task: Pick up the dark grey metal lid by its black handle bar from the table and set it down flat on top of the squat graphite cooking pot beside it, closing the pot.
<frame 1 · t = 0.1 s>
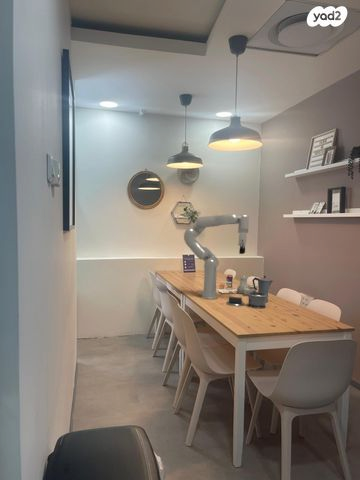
hand: (242, 253, 264), 37 cm above the table, tool pointing down, fingers open, 9 cm apart
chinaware: (246, 293, 296), on the table
moka pot: (261, 301, 266), on the table
pot: (256, 306, 249), on the table
lid: (235, 304, 253), on the table
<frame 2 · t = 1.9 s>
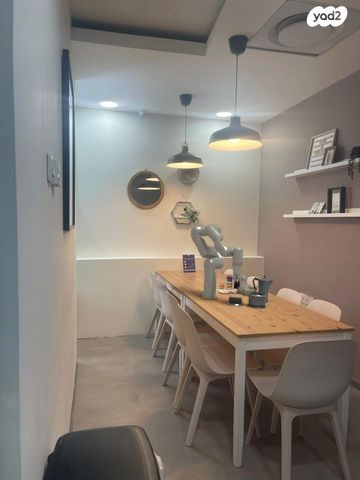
hand: (236, 287, 252), 12 cm above the table, tool pointing down, fingers open, 9 cm apart
nothing on the table moved.
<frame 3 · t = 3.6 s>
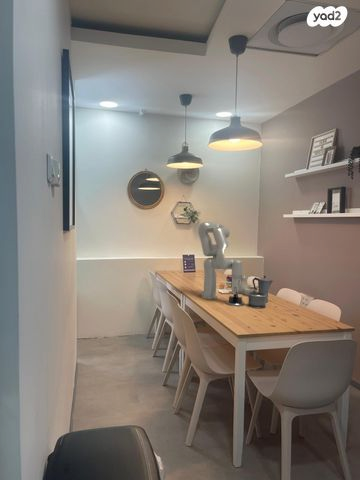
hand: (235, 301, 253), 2 cm above the table, tool pointing down, fingers closed on lid, 4 cm apart
lid: (235, 304, 253), on the table, touching gripper
everything else where it was.
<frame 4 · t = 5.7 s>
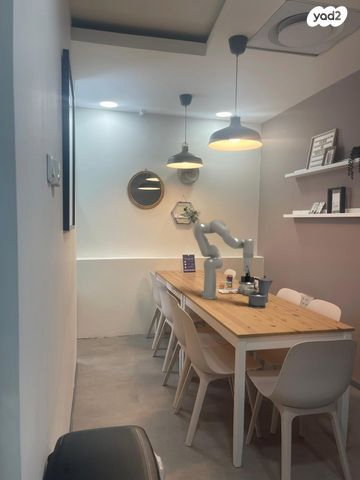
hand: (247, 280, 250), 18 cm above the table, tool pointing down, fingers closed on lid, 4 cm apart
lid: (247, 283, 250), point 16 cm above the table, touching gripper
everything else where it was.
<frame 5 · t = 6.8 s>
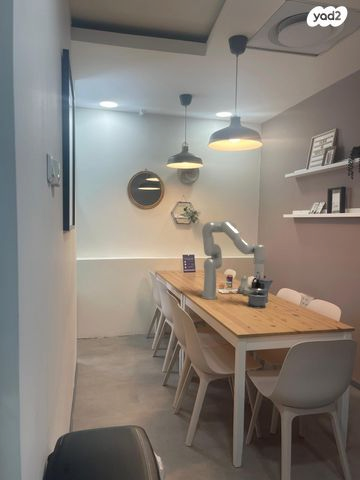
hand: (257, 286, 248), 14 cm above the table, tool pointing down, fingers closed on lid, 4 cm apart
lid: (257, 289, 248), point 12 cm above the table, touching gripper
everything else where it was.
when the fingers open (12 cm above the table, at t = 7.8 s): lid drops 1 cm, resting on pot.
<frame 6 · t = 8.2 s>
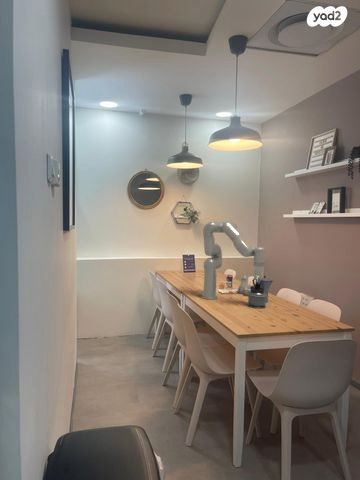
hand: (257, 288, 248), 13 cm above the table, tool pointing down, fingers open, 8 cm apart
lid: (257, 293, 249), point 9 cm above the table, touching pot
everything else where it was.
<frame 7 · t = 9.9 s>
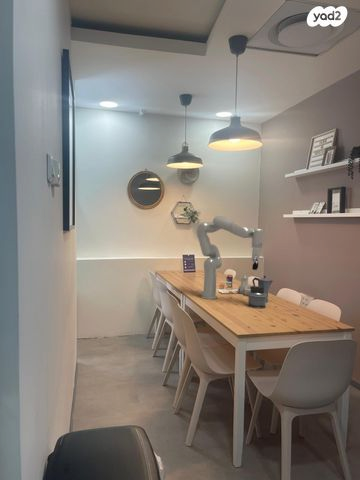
hand: (255, 268, 251), 27 cm above the table, tool pointing down, fingers open, 9 cm apart
nothing on the table moved.
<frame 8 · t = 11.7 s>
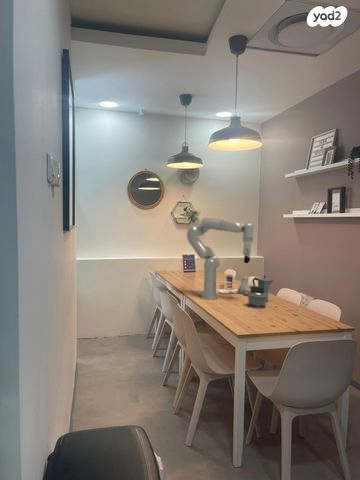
hand: (246, 262, 260), 30 cm above the table, tool pointing down, fingers open, 9 cm apart
nothing on the table moved.
at the end: lid 0.1 cm off-centre on the pot, point 9.0 cm above the pot's base; lid tilted 0°; the gripper is holding nothing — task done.
